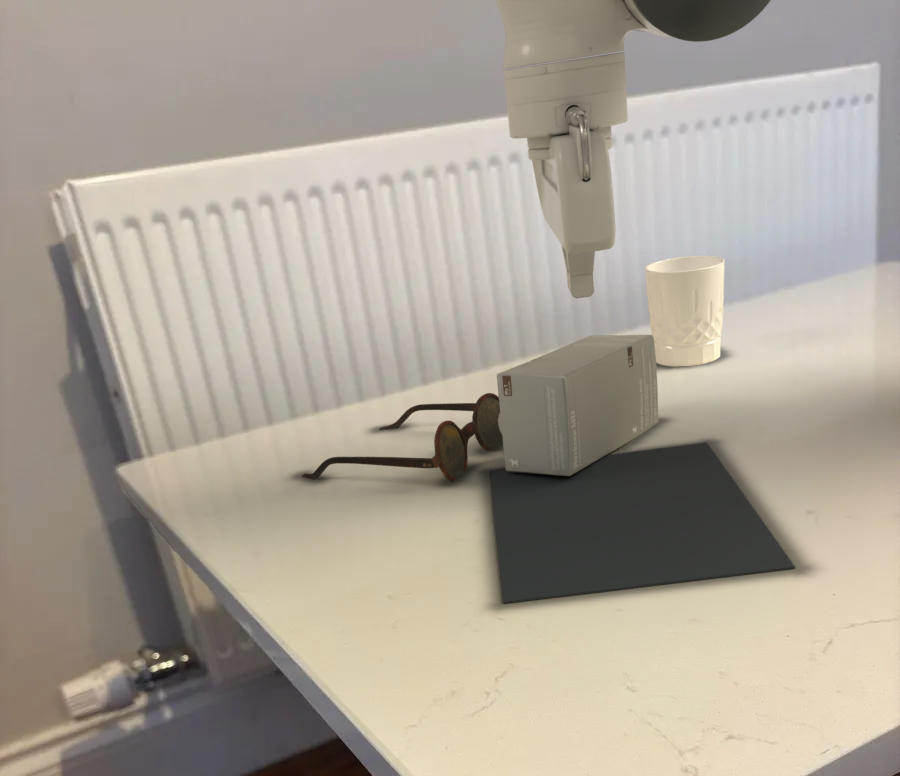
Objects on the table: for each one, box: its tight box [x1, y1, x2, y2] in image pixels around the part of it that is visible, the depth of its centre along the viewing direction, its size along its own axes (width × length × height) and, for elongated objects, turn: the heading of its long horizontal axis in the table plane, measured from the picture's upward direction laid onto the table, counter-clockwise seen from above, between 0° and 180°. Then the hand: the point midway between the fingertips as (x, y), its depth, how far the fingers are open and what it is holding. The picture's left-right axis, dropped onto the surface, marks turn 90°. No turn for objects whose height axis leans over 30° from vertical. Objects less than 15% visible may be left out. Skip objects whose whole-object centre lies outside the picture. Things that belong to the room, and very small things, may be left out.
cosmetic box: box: [496, 334, 660, 476], centre depth 86 cm, size 8×7×16 cm
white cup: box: [644, 255, 726, 367], centre depth 106 cm, size 8×8×10 cm
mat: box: [489, 442, 796, 605], centre depth 74 cm, size 18×24×1 cm
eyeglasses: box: [301, 392, 503, 482], centre depth 91 cm, size 15×15×5 cm
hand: (581, 294), depth 82 cm, fingers closed
